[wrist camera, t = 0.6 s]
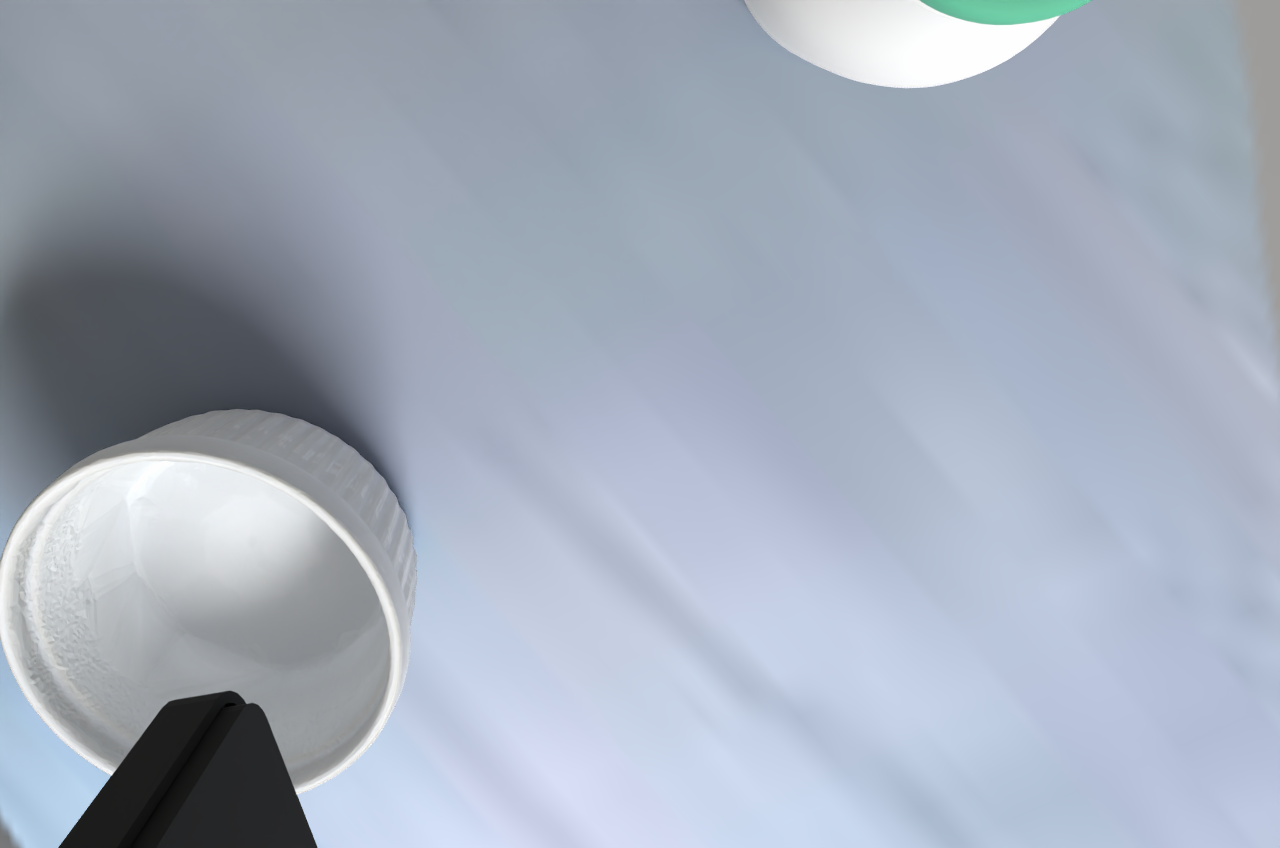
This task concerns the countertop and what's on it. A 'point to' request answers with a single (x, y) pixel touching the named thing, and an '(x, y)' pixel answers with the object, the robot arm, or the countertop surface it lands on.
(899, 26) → the milk bottle
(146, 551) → the ramekin
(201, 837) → the robot arm
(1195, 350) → the countertop surface
